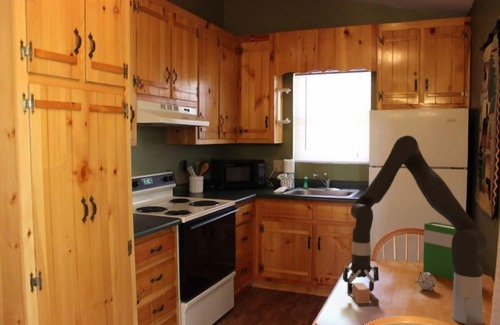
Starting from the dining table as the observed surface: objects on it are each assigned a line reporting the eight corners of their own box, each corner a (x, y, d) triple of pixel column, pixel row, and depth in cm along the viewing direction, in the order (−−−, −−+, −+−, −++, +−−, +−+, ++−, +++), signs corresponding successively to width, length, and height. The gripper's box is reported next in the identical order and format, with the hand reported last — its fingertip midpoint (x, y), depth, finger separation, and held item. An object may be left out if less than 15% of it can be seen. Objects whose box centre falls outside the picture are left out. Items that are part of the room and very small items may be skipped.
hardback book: (466, 278, 200) (468, 227, 198) (458, 281, 195) (460, 230, 194) (431, 269, 214) (432, 221, 212) (423, 271, 210) (424, 223, 208)
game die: (430, 299, 184) (441, 286, 178) (411, 291, 186) (421, 277, 179) (431, 283, 191) (441, 270, 185) (412, 276, 192) (422, 262, 186)
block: (362, 294, 179) (362, 282, 179) (369, 301, 171) (369, 289, 171) (352, 294, 179) (352, 283, 179) (358, 302, 171) (358, 289, 171)
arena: (378, 305, 169) (378, 299, 168) (358, 306, 168) (358, 300, 168) (365, 291, 183) (365, 286, 183) (347, 292, 183) (347, 286, 183)
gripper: (374, 249, 178) (374, 287, 179) (341, 250, 177) (340, 288, 178) (381, 254, 171) (381, 294, 172) (346, 255, 170) (346, 295, 171)
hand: (360, 291), depth 175 cm, fingers open, 8 cm apart
